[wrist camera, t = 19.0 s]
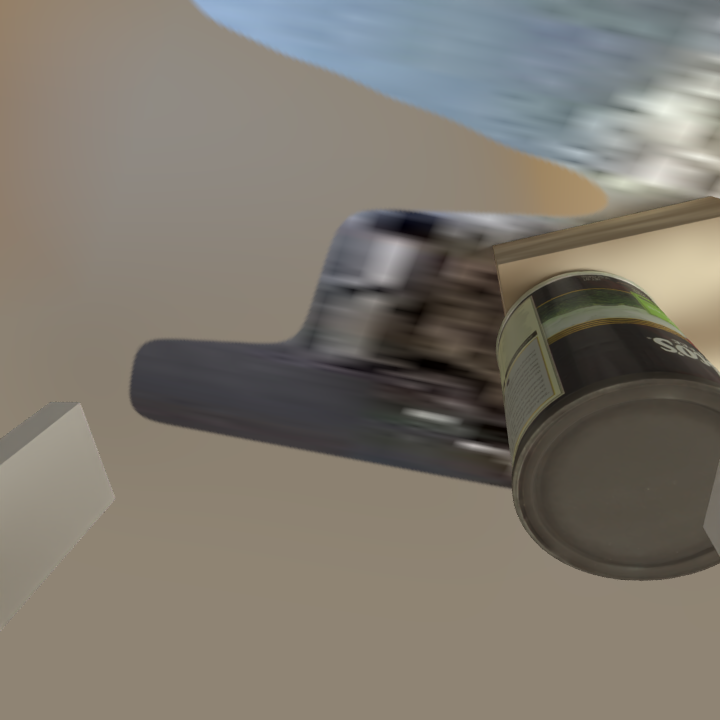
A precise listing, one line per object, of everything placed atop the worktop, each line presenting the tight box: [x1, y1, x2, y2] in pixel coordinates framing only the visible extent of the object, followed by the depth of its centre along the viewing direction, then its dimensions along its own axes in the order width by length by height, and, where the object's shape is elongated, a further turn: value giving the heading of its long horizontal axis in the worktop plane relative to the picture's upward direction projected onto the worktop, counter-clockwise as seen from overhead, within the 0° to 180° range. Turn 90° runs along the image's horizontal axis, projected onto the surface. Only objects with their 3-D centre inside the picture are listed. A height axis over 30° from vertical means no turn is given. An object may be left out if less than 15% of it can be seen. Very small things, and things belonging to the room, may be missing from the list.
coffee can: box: [496, 270, 720, 581], centre depth 27 cm, size 10×10×14 cm
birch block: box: [493, 196, 720, 372], centre depth 36 cm, size 14×14×6 cm
